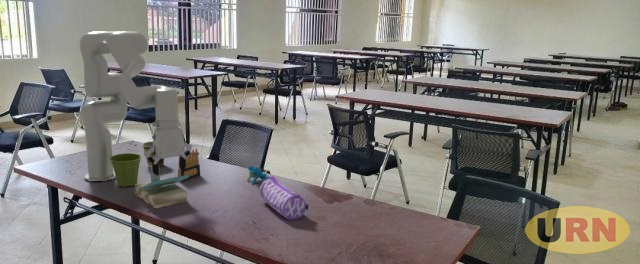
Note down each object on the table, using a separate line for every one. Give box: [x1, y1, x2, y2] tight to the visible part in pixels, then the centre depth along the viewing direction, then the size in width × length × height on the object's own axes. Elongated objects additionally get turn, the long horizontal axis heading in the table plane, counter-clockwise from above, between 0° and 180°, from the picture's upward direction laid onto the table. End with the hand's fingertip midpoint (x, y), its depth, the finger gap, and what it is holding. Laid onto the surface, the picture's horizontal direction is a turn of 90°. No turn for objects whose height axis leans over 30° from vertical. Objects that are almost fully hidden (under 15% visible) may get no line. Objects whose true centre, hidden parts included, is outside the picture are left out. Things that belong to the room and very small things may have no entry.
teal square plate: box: [141, 175, 189, 190], centre depth 189 cm, size 12×13×1 cm
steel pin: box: [149, 166, 161, 182], centre depth 195 cm, size 3×3×10 cm
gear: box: [246, 165, 269, 185], centre depth 213 cm, size 11×6×10 cm
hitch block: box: [134, 178, 188, 209], centre depth 193 cm, size 18×12×4 cm, turn 40°
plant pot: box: [110, 152, 143, 188], centre depth 206 cm, size 12×12×11 cm
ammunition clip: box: [177, 148, 201, 183], centre depth 216 cm, size 11×2×12 cm, turn 147°
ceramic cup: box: [142, 140, 165, 168], centre depth 231 cm, size 13×10×10 cm
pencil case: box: [259, 175, 309, 221], centre depth 184 cm, size 22×9×10 cm, turn 32°
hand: (169, 171), depth 185 cm, fingers open, 9 cm apart
